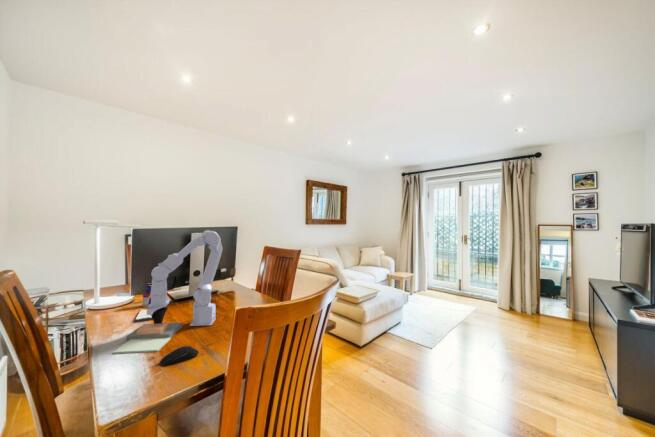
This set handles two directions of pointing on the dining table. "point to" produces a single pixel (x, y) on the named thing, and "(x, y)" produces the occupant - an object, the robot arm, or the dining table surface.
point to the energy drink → (147, 297)
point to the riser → (166, 334)
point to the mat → (142, 345)
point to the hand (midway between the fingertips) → (158, 325)
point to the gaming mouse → (179, 356)
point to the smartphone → (143, 316)
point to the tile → (152, 329)
